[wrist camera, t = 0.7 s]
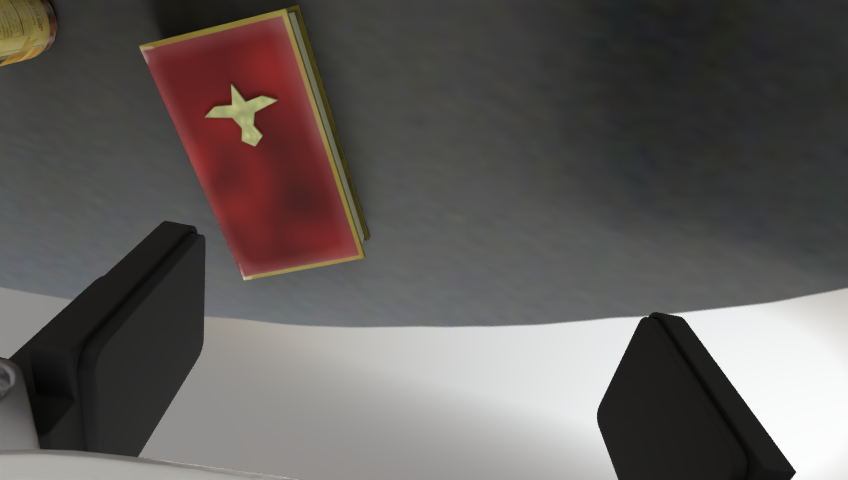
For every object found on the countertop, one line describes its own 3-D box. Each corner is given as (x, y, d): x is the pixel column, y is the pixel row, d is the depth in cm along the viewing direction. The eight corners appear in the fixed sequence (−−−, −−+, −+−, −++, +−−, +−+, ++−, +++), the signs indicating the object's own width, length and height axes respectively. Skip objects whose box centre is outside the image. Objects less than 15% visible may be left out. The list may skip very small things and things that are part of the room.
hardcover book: (253, 260, 52) (238, 282, 48) (158, 40, 43) (131, 47, 39) (369, 237, 50) (364, 259, 47) (298, 4, 41) (284, 8, 37)
